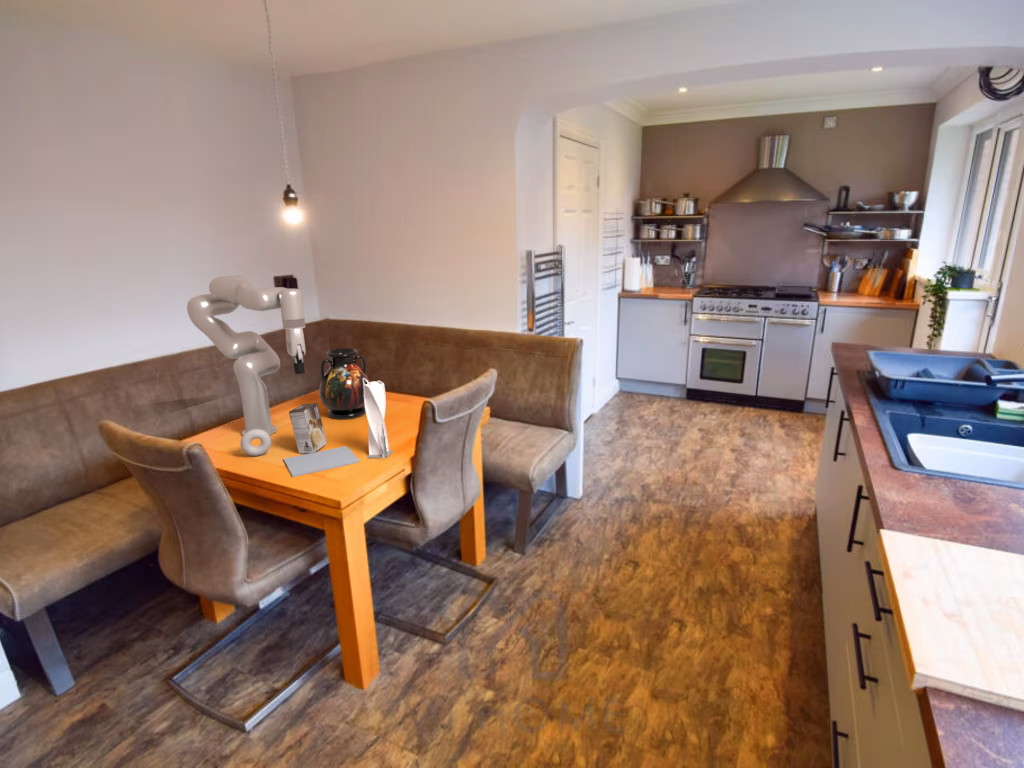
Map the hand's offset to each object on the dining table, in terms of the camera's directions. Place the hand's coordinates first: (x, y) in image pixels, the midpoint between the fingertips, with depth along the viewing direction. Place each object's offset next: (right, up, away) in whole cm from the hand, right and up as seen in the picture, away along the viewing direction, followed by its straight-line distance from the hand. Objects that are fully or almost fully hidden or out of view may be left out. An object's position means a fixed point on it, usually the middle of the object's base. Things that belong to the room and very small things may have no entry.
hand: (299, 373), depth 204 cm
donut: (-13, -30, -6) cm, 33 cm away
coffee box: (+5, -28, -1) cm, 28 cm away
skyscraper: (+30, -29, -5) cm, 42 cm away
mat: (+12, -31, -11) cm, 35 cm away
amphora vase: (+6, -17, +38) cm, 42 cm away
